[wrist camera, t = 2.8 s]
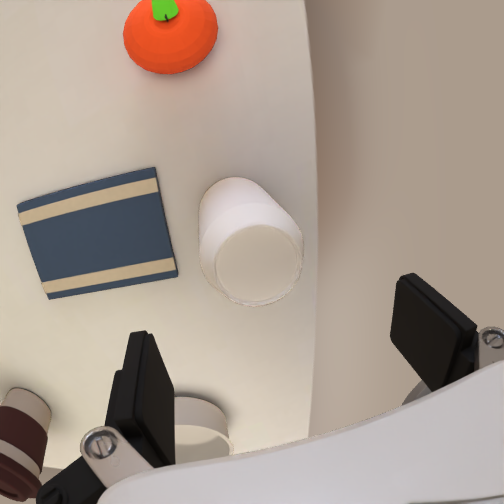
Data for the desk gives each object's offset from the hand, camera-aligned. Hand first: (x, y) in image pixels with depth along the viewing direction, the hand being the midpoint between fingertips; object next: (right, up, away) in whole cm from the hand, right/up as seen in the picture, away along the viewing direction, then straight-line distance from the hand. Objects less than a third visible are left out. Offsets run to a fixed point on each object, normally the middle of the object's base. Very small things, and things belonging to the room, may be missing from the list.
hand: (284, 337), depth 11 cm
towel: (-16, +4, +16) cm, 23 cm away
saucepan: (-11, -22, +28) cm, 37 cm away
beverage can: (-3, +7, +17) cm, 19 cm away
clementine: (-8, +21, +11) cm, 25 cm away
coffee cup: (-32, -18, +22) cm, 43 cm away
